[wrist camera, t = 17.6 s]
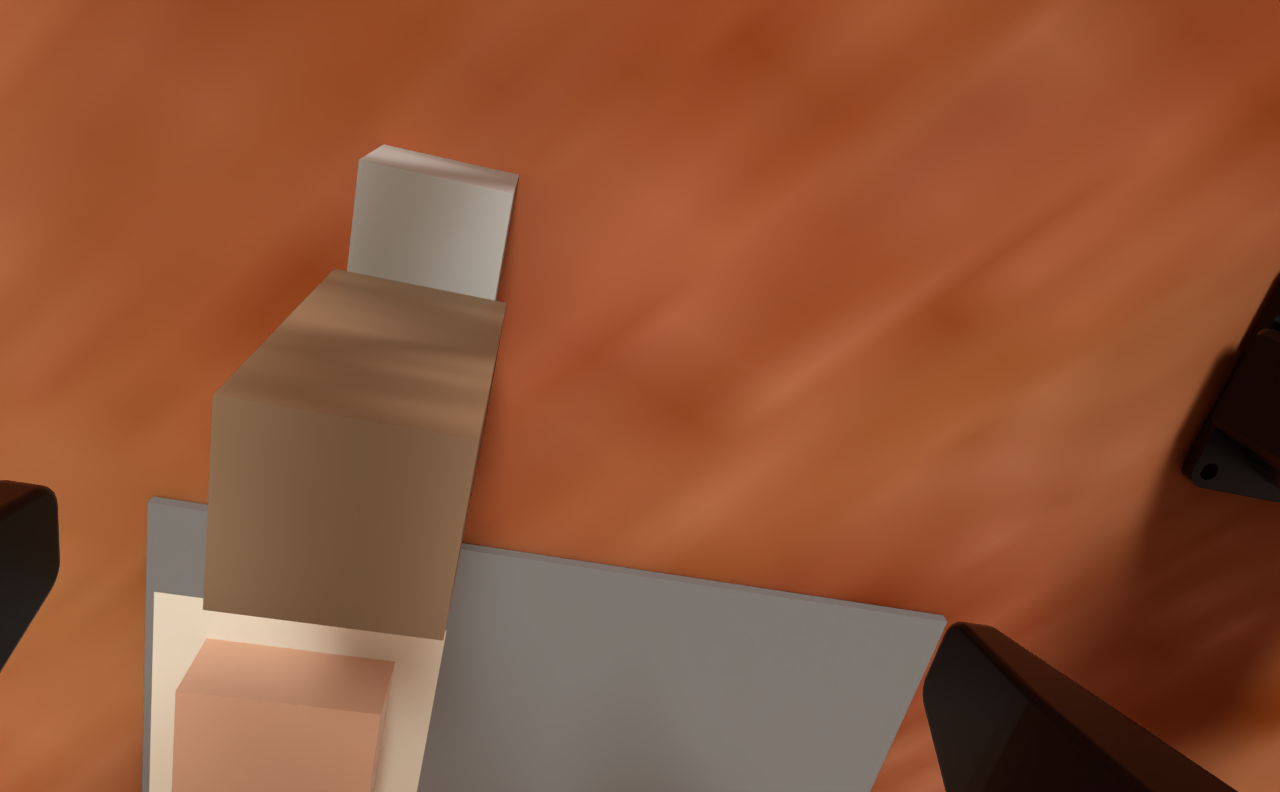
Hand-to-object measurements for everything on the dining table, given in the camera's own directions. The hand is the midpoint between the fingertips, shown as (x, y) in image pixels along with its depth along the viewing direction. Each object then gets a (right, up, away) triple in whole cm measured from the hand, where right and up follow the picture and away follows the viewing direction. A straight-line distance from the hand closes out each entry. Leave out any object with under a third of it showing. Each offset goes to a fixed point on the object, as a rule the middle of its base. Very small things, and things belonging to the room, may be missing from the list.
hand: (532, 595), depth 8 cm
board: (-2, -8, +17) cm, 19 cm away
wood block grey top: (-4, +4, +12) cm, 13 cm away
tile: (-9, -7, +16) cm, 19 cm away
